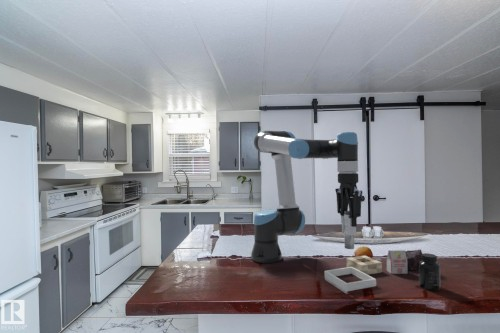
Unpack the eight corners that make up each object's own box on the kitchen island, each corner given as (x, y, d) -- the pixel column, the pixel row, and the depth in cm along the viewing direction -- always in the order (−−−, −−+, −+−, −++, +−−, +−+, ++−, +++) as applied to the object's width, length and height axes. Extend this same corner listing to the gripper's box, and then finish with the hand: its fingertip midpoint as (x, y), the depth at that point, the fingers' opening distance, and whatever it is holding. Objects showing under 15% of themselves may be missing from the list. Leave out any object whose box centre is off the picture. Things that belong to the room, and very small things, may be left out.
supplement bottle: (414, 284, 111) (414, 252, 111) (431, 283, 111) (431, 251, 111) (427, 291, 104) (426, 258, 104) (445, 290, 104) (444, 257, 104)
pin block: (346, 269, 127) (346, 258, 127) (365, 266, 130) (365, 255, 130) (362, 277, 117) (362, 265, 117) (382, 274, 120) (381, 262, 120)
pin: (342, 247, 113) (341, 211, 113) (350, 246, 114) (349, 210, 114) (348, 249, 109) (347, 212, 109) (356, 248, 110) (355, 211, 110)
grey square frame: (324, 279, 116) (324, 270, 116) (351, 275, 120) (351, 266, 120) (346, 294, 103) (346, 284, 103) (376, 288, 107) (376, 279, 107)
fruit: (378, 261, 132) (368, 246, 133) (363, 269, 133) (353, 254, 134) (374, 256, 140) (365, 241, 140) (360, 263, 141) (351, 249, 142)
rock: (394, 268, 130) (405, 277, 120) (391, 250, 130) (402, 256, 120) (421, 264, 130) (434, 272, 120) (417, 245, 130) (430, 251, 120)
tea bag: (386, 272, 122) (386, 249, 122) (402, 272, 122) (402, 249, 122) (391, 276, 119) (390, 251, 119) (407, 276, 119) (407, 251, 118)
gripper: (371, 172, 105) (372, 237, 105) (342, 172, 120) (343, 228, 120) (353, 173, 102) (355, 239, 102) (327, 172, 118) (328, 230, 118)
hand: (349, 233), depth 111 cm, fingers closed on pin, 3 cm apart
